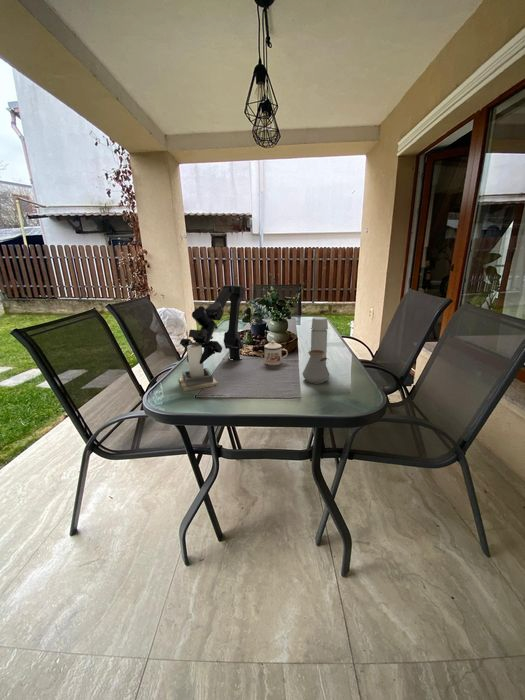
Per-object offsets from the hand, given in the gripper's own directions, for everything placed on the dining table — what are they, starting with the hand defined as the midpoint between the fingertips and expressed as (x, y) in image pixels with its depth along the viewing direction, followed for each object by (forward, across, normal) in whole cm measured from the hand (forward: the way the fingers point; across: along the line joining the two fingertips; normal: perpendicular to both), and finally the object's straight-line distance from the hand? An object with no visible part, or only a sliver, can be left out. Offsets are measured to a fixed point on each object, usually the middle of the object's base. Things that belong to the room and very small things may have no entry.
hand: (194, 362), depth 122 cm
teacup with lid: (-19, +23, +33) cm, 45 cm away
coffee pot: (-4, +50, +18) cm, 53 cm away
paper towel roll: (+4, 0, +6) cm, 7 cm away
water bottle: (-17, +46, +30) cm, 58 cm away
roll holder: (+6, 0, +8) cm, 10 cm away
